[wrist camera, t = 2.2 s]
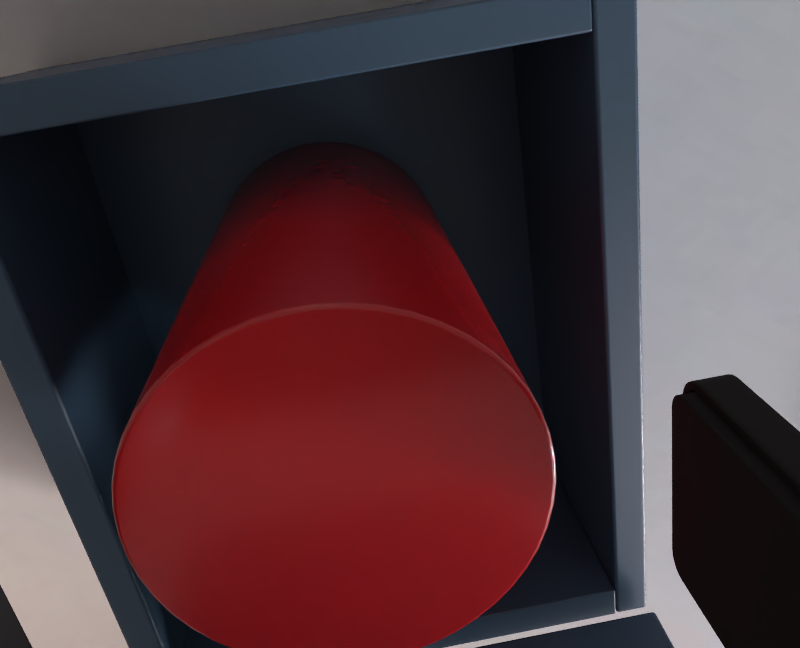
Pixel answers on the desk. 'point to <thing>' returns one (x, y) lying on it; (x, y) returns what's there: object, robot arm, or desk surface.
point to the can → (332, 424)
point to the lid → (600, 635)
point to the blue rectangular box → (444, 190)
